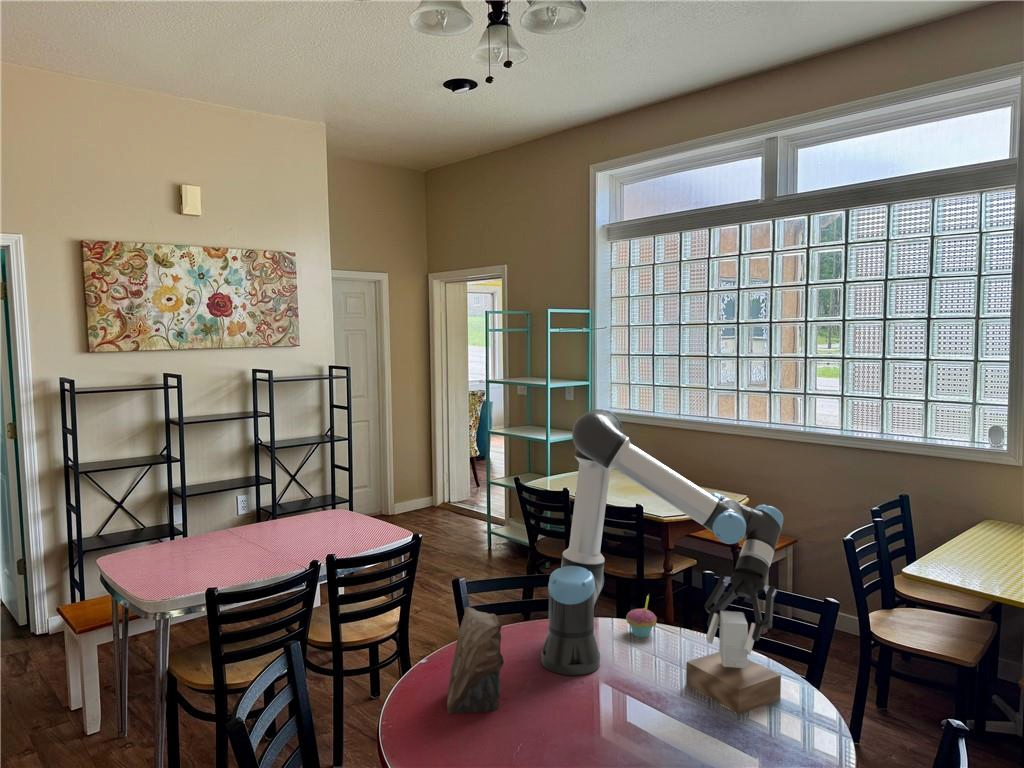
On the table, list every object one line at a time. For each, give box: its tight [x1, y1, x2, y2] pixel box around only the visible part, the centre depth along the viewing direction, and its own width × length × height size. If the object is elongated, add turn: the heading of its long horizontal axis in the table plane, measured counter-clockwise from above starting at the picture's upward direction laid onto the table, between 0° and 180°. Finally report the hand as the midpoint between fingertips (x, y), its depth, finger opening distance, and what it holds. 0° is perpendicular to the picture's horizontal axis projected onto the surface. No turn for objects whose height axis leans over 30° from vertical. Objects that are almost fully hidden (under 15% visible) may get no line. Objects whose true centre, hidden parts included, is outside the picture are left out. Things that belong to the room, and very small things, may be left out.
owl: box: [446, 606, 505, 715], centre depth 157 cm, size 13×13×20 cm
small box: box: [718, 610, 749, 668], centre depth 162 cm, size 8×6×10 cm
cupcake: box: [625, 593, 658, 638], centre depth 196 cm, size 9×8×12 cm
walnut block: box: [685, 651, 782, 715], centre depth 163 cm, size 16×14×6 cm
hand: (727, 646), depth 160 cm, fingers closed on small box, 8 cm apart
